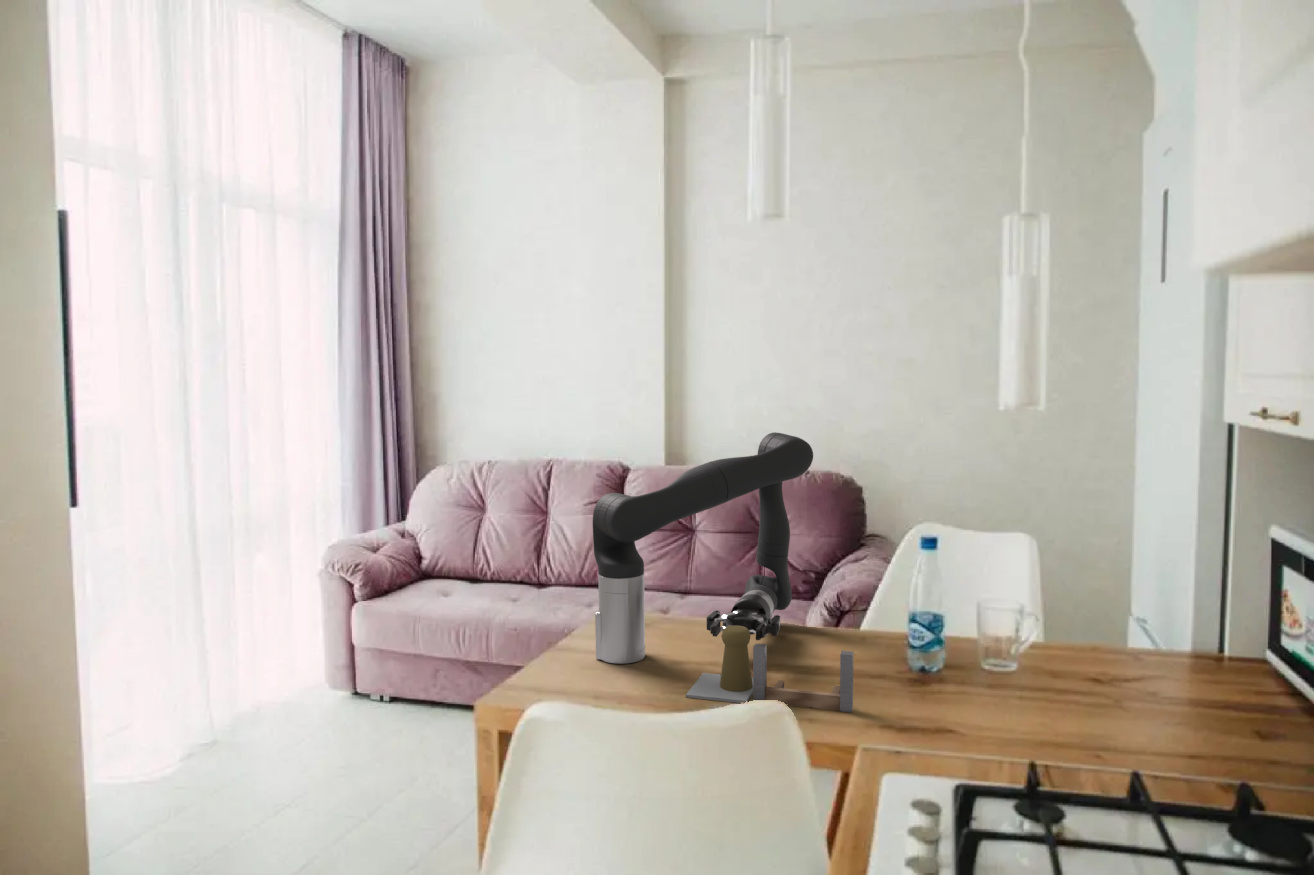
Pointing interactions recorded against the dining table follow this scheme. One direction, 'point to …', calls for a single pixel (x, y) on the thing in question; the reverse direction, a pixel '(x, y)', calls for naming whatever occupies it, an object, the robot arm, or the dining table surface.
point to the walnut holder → (822, 700)
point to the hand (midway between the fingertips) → (735, 633)
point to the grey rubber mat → (716, 690)
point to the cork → (736, 660)
